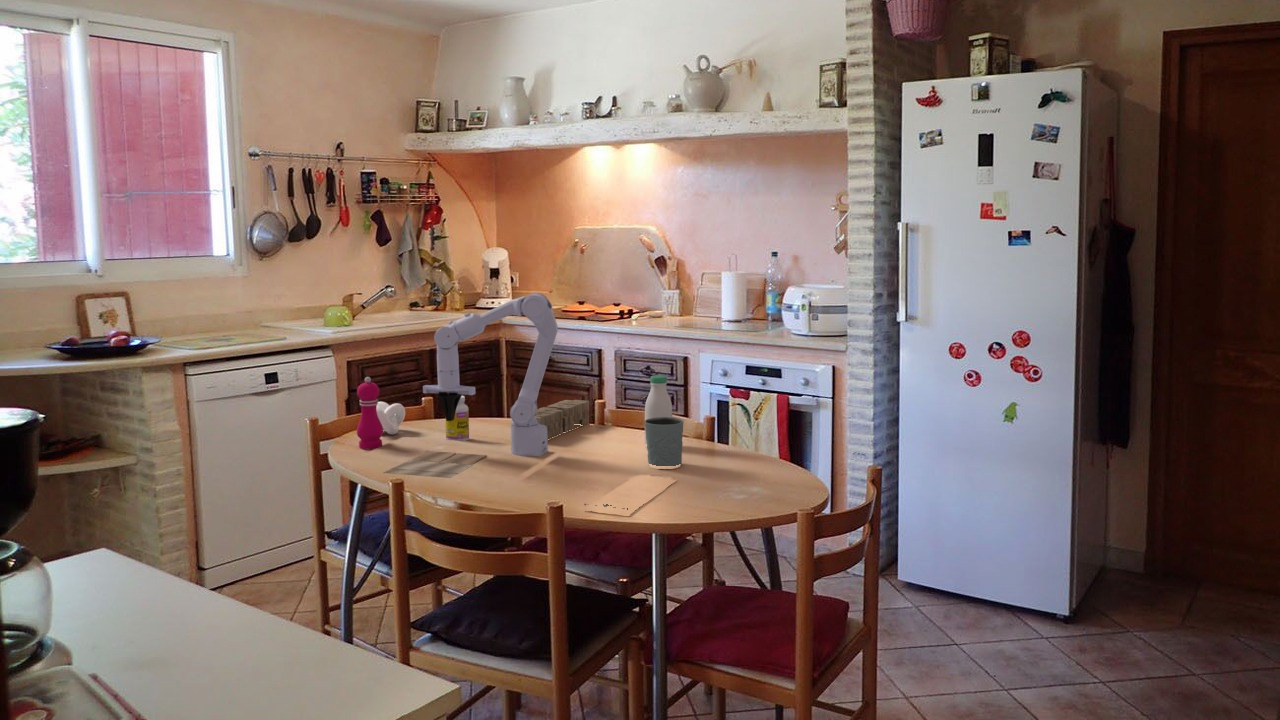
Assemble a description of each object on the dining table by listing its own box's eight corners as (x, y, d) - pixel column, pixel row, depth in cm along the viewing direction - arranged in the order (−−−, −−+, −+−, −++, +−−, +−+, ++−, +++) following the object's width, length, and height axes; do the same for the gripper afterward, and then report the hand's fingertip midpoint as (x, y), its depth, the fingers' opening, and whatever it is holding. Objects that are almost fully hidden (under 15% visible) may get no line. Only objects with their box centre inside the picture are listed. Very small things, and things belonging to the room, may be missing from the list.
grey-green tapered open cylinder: (680, 471, 262) (680, 425, 260) (641, 469, 264) (640, 423, 262) (686, 461, 272) (686, 417, 270) (648, 460, 274) (648, 415, 272)
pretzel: (355, 436, 304) (354, 406, 302) (377, 427, 315) (375, 398, 314) (389, 438, 300) (388, 408, 299) (410, 429, 312) (409, 400, 310)
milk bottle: (672, 449, 285) (672, 378, 282) (644, 449, 285) (644, 378, 282) (672, 443, 292) (672, 374, 289) (645, 443, 293) (644, 374, 290)
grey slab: (473, 468, 265) (473, 464, 265) (450, 481, 253) (450, 477, 253) (409, 463, 271) (408, 460, 270) (383, 476, 258) (383, 472, 258)
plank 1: (456, 456, 277) (456, 452, 277) (440, 465, 268) (440, 462, 268) (427, 454, 279) (427, 450, 279) (411, 463, 271) (411, 460, 271)
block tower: (567, 425, 322) (516, 441, 296) (567, 398, 321) (516, 412, 295) (590, 427, 319) (540, 444, 293) (589, 400, 318) (539, 415, 292)
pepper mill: (387, 444, 293) (384, 374, 290) (378, 450, 286) (375, 379, 283) (362, 443, 294) (359, 374, 291) (353, 449, 287) (350, 378, 284)
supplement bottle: (457, 444, 293) (455, 399, 291) (441, 440, 297) (439, 397, 295) (474, 439, 298) (473, 396, 296) (458, 436, 302) (457, 393, 300)
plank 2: (486, 458, 274) (486, 455, 274) (472, 468, 266) (471, 464, 266) (457, 456, 277) (457, 453, 277) (442, 466, 268) (442, 462, 268)
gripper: (479, 368, 277) (481, 418, 279) (430, 367, 281) (432, 416, 283) (468, 373, 271) (470, 423, 273) (418, 371, 275) (420, 421, 277)
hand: (450, 420), depth 278 cm, fingers closed
